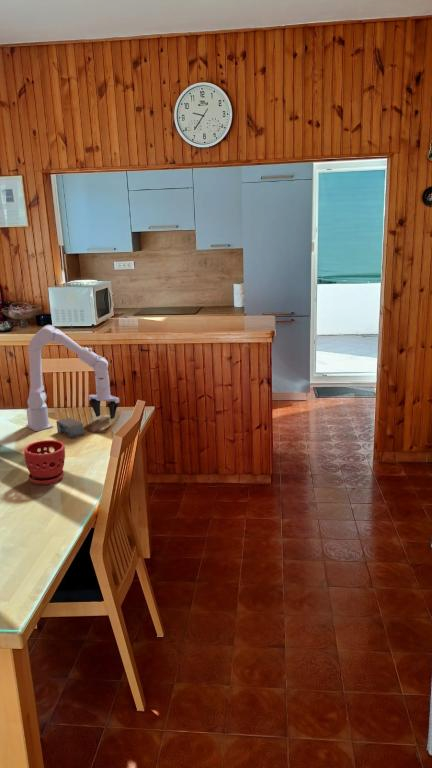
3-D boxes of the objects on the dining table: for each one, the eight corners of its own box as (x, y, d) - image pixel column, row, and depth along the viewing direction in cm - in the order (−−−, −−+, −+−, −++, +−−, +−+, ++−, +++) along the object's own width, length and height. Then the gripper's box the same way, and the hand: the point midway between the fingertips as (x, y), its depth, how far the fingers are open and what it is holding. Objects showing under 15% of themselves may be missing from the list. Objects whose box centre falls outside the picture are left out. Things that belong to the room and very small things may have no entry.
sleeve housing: (57, 432, 246) (56, 421, 245) (70, 428, 250) (69, 417, 249) (70, 438, 238) (69, 427, 237) (83, 434, 242) (82, 423, 241)
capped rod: (87, 431, 246) (87, 424, 246) (107, 421, 259) (106, 414, 258) (93, 432, 245) (92, 425, 244) (113, 421, 257) (112, 415, 257)
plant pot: (27, 490, 193) (23, 456, 190) (28, 474, 206) (24, 442, 203) (68, 484, 197) (64, 450, 194) (67, 469, 209) (63, 437, 206)
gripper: (83, 387, 250) (86, 418, 254) (111, 390, 244) (114, 421, 248) (93, 383, 257) (95, 413, 260) (121, 386, 250) (123, 416, 254)
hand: (105, 417), depth 254 cm, fingers open, 7 cm apart
